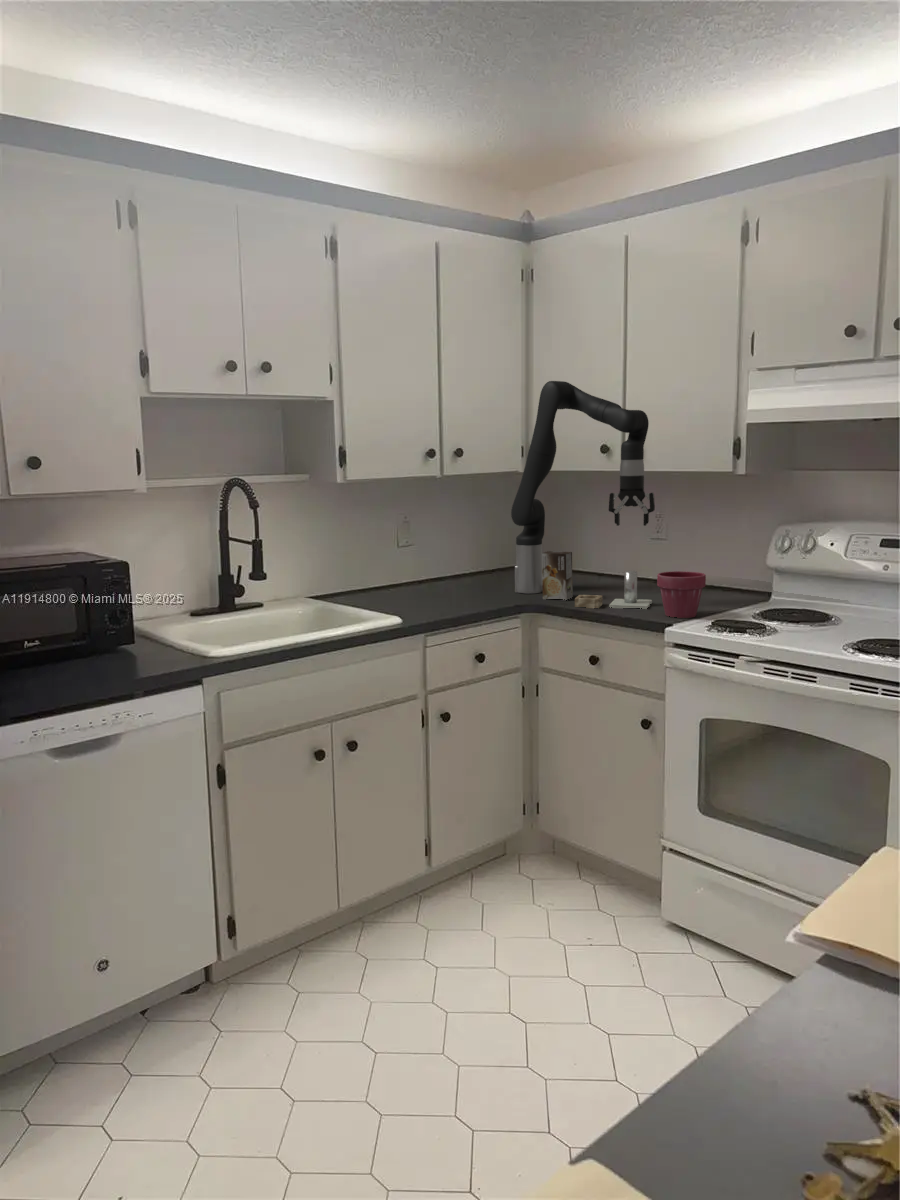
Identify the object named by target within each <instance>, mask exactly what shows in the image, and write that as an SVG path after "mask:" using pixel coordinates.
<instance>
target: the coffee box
mask: <svg viewBox="0 0 900 1200" xmlns="http://www.w3.org/2000/svg"><path fill="white" fill-rule="evenodd" d="M573 594H574V593H573V551H560V550H559V551H555V550H553V551H551V550H547V551H544V552H542V600H546V599H563V600H562V601H566V600H567V599H569V600H571V599H573V598H574V596H573ZM572 597H573V598H572ZM570 598H571V599H570ZM564 599H565V600H564ZM567 601H568V600H567Z"/></svg>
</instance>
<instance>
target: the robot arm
mask: <svg viewBox="0 0 900 1200" xmlns="http://www.w3.org/2000/svg"><path fill="white" fill-rule="evenodd" d="M565 409H566V410H574V411H579V412H582V413H584V414H585V415H587V416H588V417H590V419H593V420H595V421H597V422H600V423H603V424H604V425H605V424H606V425H609V426H610V427H611V428H613V429H616V430H617V431H619V432H621V433H626V434H628V436H627V440H625V441H623V442H621V445H620V464H619V491H618V493H617V492H616V493H615V492H610V493H609V499H608V500H609V501H608V512H610V513H613V514H614V524H615V525H616V526H621V519H620V518H621V516H620V511H621V510H622V509H623V508H624V506H625V507H639V508H640V509H641V511H642V512H643V526H644V527H645V526H647V525H648V524H649V521H650V519H649V517H650V513H653V512H654V511H655V507H656V505H655V493H654V492H652V491H651V492H645V463H644V457H645V456H644V455H645V454H644V452H645V451H644V447H645V443H646V439H647V435H648V431H649V422H650V421H649V417H648V415H647V413H646V412H645V411H644V410H640V409H628V408H627V409H626V408H623V407H622V406H621V405H619V404H618V403H616V402H614V401H610V400H607V399H604V398H600V397H598V396H595V395H591V394H590V393H588V392H586V391H583V390H582V389H580V388H578V387H577V386H575V385H574V384H572V383H570V382H567V381H561V380H548V381H547V382H546V383H544V385H543V387H541V391H540V395H539V399H538V406H537V413H536V414H537V415H536V419H535V425H534V428H533V433H532V436H531V437H532V438H531V441H530V445H529V448H528V452H527V457H526V461H525V466H524V468H523V473H522V476H521V480H520V482H519V487H518V489H517V492H516V495H515V497H514V500H513V503H512V506H511V509H510V510H511V511H510V516H511V520H512V522H513V523H514V524H515V525H516V526H518V527H523V529H522V531H521V532H520V533H519V534H518V535H517V536H516V539H515V549H516V550H515V552H516V553H515V556H516V557H515V558H516V560H515V563H516V565H514V592H515V593H518V594H541V593H543V585H542V553H543V538H544V536H545V524H546V523H545V522H546V521H545V520H546V517H545V516H546V515H545V514H546V511H545V507H544V503H542V501H541V500H540V499H537V498H535V497H536V494H537V491H538V490H539V487H540V486H541V485H542V483H543V481H544V480H545V479H546V477H547V476H548V475H549V474H550V472H551V470H552V467H553V464H554V462H555V457H556V454H557V441H556V436H555V435H556V434H555V429H554V425H555V418H556V416H557V415H556V414H557V412H558V410H565ZM617 498H618V499H619V500H620V503H619V504H618V505H617V507H616V508H615V501H616V500H617ZM645 498H647V499H646V500H648V501H649V508H647V506H646V504H645V503H644V502H643V500H644V499H645Z"/></svg>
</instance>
